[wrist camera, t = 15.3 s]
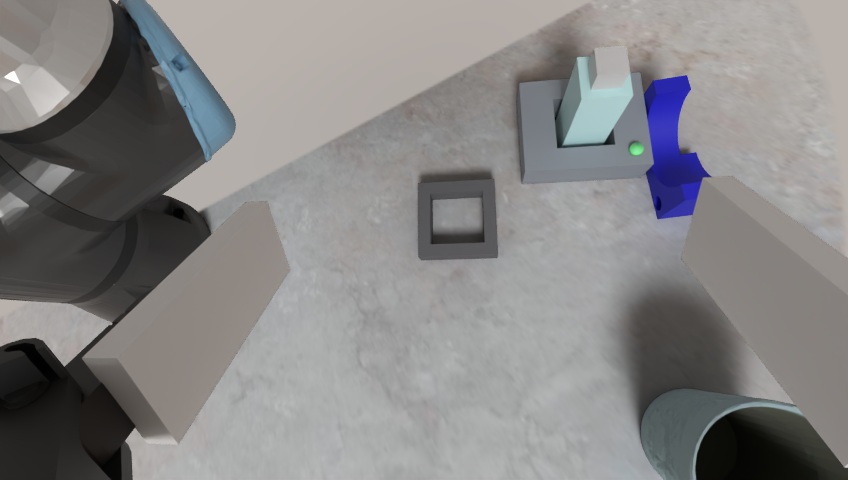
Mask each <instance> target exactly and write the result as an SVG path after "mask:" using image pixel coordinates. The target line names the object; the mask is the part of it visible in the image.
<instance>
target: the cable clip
mask: <svg viewBox="0 0 848 480" xmlns="http://www.w3.org/2000/svg"><path fill="white" fill-rule="evenodd" d="M690 90H691V88H690V84H689V81H688V77H687V75H685V76H679V77H673V78H667V79H661V80H655V81H653V82H652V83H651V85H650V86H649V88H648V89H647V91H646V92H645V94H644V100H645V106H646V113H647V120H648V127H649V134H650V140H651V147H652V154H653V161H654V164H653V165H652V166H651V167H650V168H649V169H648V170H647V171H646V175H647V179H648V183H649V187H650V191H651V195H652V199H653V203H654V207H655V211H656V215H657V219H663V218H671V217H679V216H687V215H693V212H694V208H695V205H696V201H697V197H698V193H699V190H700V186H701V182H702V179H703V178H704V177H711V176H710V175H709V174H708V173H707V172H706V171H705V170H704V168H703V167H702V165H701V163H700V161H699V159H698V157H697V154H696V153H689V154H682V155H680V151H679V146H678V120H679V115H680V111H681V107H682V104H683V102H684V100H685V98H686V96H687V94H688V93H689V91H690Z"/></svg>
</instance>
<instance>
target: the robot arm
mask: <svg viewBox="0 0 848 480" xmlns="http://www.w3.org/2000/svg"><path fill="white" fill-rule="evenodd" d="M235 126H236V124H235V119H234V116H233V114H232V113H231V111H230V109H229V108H228V106H227V105H226V104H225V102H224V101H223V99H222V98H221V96H220V95H219V94H218V92H217V91H216V90H215V88H214V87H213V85H212V84H211V83H210V81H209V80H208V79H207V77H206V76H205V75H204V73H203V72H202V71H201V69H200V68H199V67H198V65H197V64H196V63H195V61H194V60H193V59H192V57H191V56H190V55H189V54H188V53H187V51H186V50H185V49H184V47H183V46H182V45H181V43H180V42H179V40H178V39H177V38H176V37H175V35H174V34H173V33H172V31H171V30H170V29H169V28H168V26H167V25H166V24H165V23H164V21H163V20H162V19H161V18H160V16H159V15H158V14H157V13H156V11H155V10H154V9H153V8H152V7H151V6H150V5H149V4H148V3H147V2H146V1H145V0H119V1H118V3H117V4H116V3H115V2H114V1H112V0H0V299H8V300H22V301H38V302H54V303H55V302H56V303H68V304H72V305H74V306H77V307H79V308H81V309H83V310H85V311H88V312H90V313H92V314H94V315H96V316H98V317H101V318H103V319H105V320H107V321H110V322H112V323H113V324H112V325H109V326H108V327H107V328H106V329H105V330H104V331H102V332H101V333H100V334H99V335H98V336H97V337H96V338H95V339H94V340H93V341H92V342H91V343H90V344H89V345H87V346H86V347H85V348H84V349H83V350H82V351H81V352H80V353H79V354H78V355H77V356H76V357H75V358H74V359H72V360H71V361H70V362H69V363H68V364H67V365H66V366H65V367H64V366H63V365H62V364H61V362H60V361H59V360H58V359H57V357H56V356H55V355H54V354H53V353H52V351H51V350H50V349H49V348H48V346H47V345H46V344H45V343H44V342H43V341H42V340H39V339H36V338H30V339H22V340H18V341H15V342H12V343H8V344H6V345H3V346H1V347H0V480H133V478H132V457H131V450H130V448H129V445H128V444H127V443H126V442H125V440H126V438H127V437H128V436H129V435H130V433H131V432H132V431H133V429H134V428H136V429H137V431H138V432H139V433H140V434H141V436H142V437H143V438H144V440H145V441H146V442H147V443H148V444H174V445H179V443H180V441H181V440H182V438H183V437H184V435H185V434H186V432H187V430H188V429H189V427H190V426H191V424H192V423H193V421H194V420H195V418H196V416H197V415H198V413H199V412H200V410H201V409H202V407H203V405H204V404H205V402H206V401H207V399H208V398H209V396H210V395H211V393H212V391H213V390H214V388H215V387H216V385H217V384H218V382H219V380H220V379H221V377H222V376H223V374H224V373H225V371H226V369H227V368H228V366H229V365H230V363H231V362H232V360H233V359H234V357H235V355H236V354H237V352H238V351H239V349H240V348H241V346H242V344H243V343H244V341H245V340H246V338H247V337H248V335H249V334H250V332H251V330H252V329H253V327H254V326H255V324H256V323H257V321H258V319H259V318H260V316H261V315H262V313H263V312H264V310H265V309H266V307H267V305H268V304H269V302H270V301H271V299H272V298H273V296H274V294H275V293H276V291H277V290H278V288H279V287H280V285H281V284H282V282H283V280H284V279H285V277H286V276H287V274H288V273H289V271H290V267H289V264H288V261H287V258H286V255H285V252H284V249H283V247H282V244H281V241H280V238H279V235H278V232H277V229H276V226H275V223H274V220H273V217H272V214H271V211H270V208H269V205H268V202H267V201H261V202H245V203H244V204H243V205H242V206H241V207H240V208H239V209H238V210H237V211H236V212H235V213H234V214H233V215H232V216H230V217H229V218H228V219H227V220H226V221H225V222H224V223H223V224H222V225H221V226H220V227H219V228H218V229H217V230H216V231H215V232H214V233H213V234H212V235H210V233H209V230H208V227H207V225H206V223H205V221H204V219H203V218H202V217H201V215H200V214H199V213H198V212H197V211H196V210H195V209H194V208H192V207H191V206H189V205H187V204H185V203H183V202H181V201H179V200H176V199H174V198H172V197H169V196H166V195H162V194H163V193H165V192H166V191H168V190H169V189H170V188H172V187H173V186H174V185H176V184H177V183H178V182H180V181H181V180H182V179H184V178H185V177H186V176H188V175H189V174H190V173H192V172H193V171H194V170H196V169H197V168H198V167H200V166H201V165H202V164H204V163H205V162H208V161H209V160H211V157H212V155H213V154H214V153H216V152H217V151H218V150H219V149H220V148H221V147H222V146H223V145H225V144H226V143H227V142H228V141H229V140H230V139H231V138H232V136H233V134H234V132H235ZM681 259H682V260H683V262H684V263H685V264H686V266H687V267H688V268H689V269H690V271H691V272H692V273H693V274H694V276H695V277H696V278H697V280H698V281H699V282H700V283H701V285H702V286H703V287H704V289H705V290H706V291H707V292H708V294H709V295H710V296H711V297H712V299H713V300H714V301H715V303H716V304H717V305H718V306H719V308H720V309H721V310H722V311H723V313H724V314H725V315H726V317H727V318H728V319H729V320H730V322H731V323H732V324H733V326H734V327H735V328H736V329H737V331H738V332H739V333H740V334H741V336H742V337H743V338H744V340H745V341H746V342H747V343H748V345H749V346H750V347H751V349H752V350H753V351H754V352H755V354H756V355H757V356H758V357H759V359H760V360H761V361H762V363H763V364H764V365H765V366H766V368H767V369H768V370H769V372H770V373H771V374H772V375H773V377H774V378H775V379H776V380H777V382H778V383H779V384H780V386H781V387H782V388H783V389H784V391H785V392H786V393H787V395H788V396H789V397H790V398H791V400H792V401H793V402H794V403H795V405H796V406H797V407H798V409H799V410H800V411H801V412H802V414H803V415H804V416H805V418H806V419H807V420H808V421H809V423H810V424H811V425H812V426H813V428H814V429H815V430H816V432H817V433H818V434H819V435H820V437H821V438H822V439H823V441H824V442H825V443H826V444H827V446H828V447H829V448H830V449H831V451H832V452H833V453H834V455H835V456H836V457H837V458H838V460H839V461H840V462H841V464H842V465H843V466H844V467H845V468H848V258H847V257H845V256H844V255H843V254H841V253H840V252H838V251H837V250H836V249H834V248H833V247H831V246H830V245H829V244H827V243H826V242H824V241H823V240H822V239H820V238H819V237H817V236H816V235H815V234H813V233H812V232H810V231H809V230H808V229H806V228H805V227H803V226H802V225H801V224H799V223H798V222H796V221H795V220H794V219H792V218H791V217H789V216H788V215H787V214H785V213H784V212H782V211H781V210H780V209H778V208H777V207H775V206H774V205H773V204H771V203H770V202H768V201H767V200H766V199H764V198H763V197H761V196H760V195H758V194H757V193H756V192H754V191H753V190H751V189H750V188H749V187H747V186H746V185H744V184H743V183H742V182H740V181H739V180H737V179H736V178H735V177H733V176H723V177H704V178H703V179H702V182H701V186H700V190H699V193H698V197H697V201H696V205H695V208H694V212H693V216H692V219H691V223H690V227H689V230H688V234H687V238H686V241H685V245H684V249H683V252H682V256H681Z"/></svg>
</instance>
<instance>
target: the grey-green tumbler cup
mask: <svg viewBox="0 0 848 480" xmlns="http://www.w3.org/2000/svg"><path fill="white" fill-rule="evenodd" d="M641 441H642V445H643V449H644V451H645V454H646V456H647V458H648V460H649V462H650V463H651V465H652V466H653V468H654V469H655V470H656V471H657V473H658V474H659V475H660V476H661V477H662V478H663V479H664V480H848V468H845V467H844V466H843V465H842V464H841V462H840V461H839V460H838V458H837V457H836V456H835V455H834V453H833V452H832V451H831V449H830V448H829V447H828V446H827V444H826V443H825V442H824V441H823V439H822V438H821V437H820V435H819V434H818V433H817V432H816V430H815V429H814V428H813V426H812V425H811V424H810V423H809V421H808V420H807V419H806V418H805V416H804V415H803V414H802V412H801V411H800V410H799V409H798V407H797V406H796V405H793V404H789V403H784V402H779V401H774V400H768V399H761V398H752V397H746V396H739V395H730V394H723V393H716V392H708V391H701V390H696V389H686V388H682V389H674V390H671V391H668V392H665V393H663V394H662V395H660V396H658V397H657V398H656V399H655V400H653V402H652V403H651V404H650V405H649V406H648V408H647V410H646V411H645V413H644V416H643V419H642V423H641Z"/></svg>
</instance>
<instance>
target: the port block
mask: <svg viewBox="0 0 848 480" xmlns="http://www.w3.org/2000/svg"><path fill="white" fill-rule="evenodd" d="M630 76H631V83H632V90H633V97H632V98H631V100H630V102H629V103H628V105H627V106H626V108H625V110H624V111H623V113H622V114H621V116H620V118H619V119H618V121H617V123H616V124H615V126H614V127H613V129H612V131H611V132H610V134H609V135H608V137H607V139H606V140H605V142H604V144H603V145H602V146H587V147H572V148H557V140H556V129H555V118H554V117H555V116H558V113H559V110H560V107H561V104H562V101H563V98H564V95H565V92H566V89H567V86H568V83H569V80H570V78H569V79H557V80H546V81H535V82H523V83H519V89H518V96H517V114H518V130H519V145H520V161H521V176H522V184H535V183H553V182H572V181H590V180H608V179H627V178H641V177H642V175H643V174H644V173H645V172H646V171H647V170H648V169H649V168H650V167H651V166H652V165H653V164H654V161H653V154H652V147H651V140H650V134H649V127H648V120H647V113H646V106H645V100H644V93H643V86H642V79H641V72H637V73H630Z"/></svg>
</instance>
